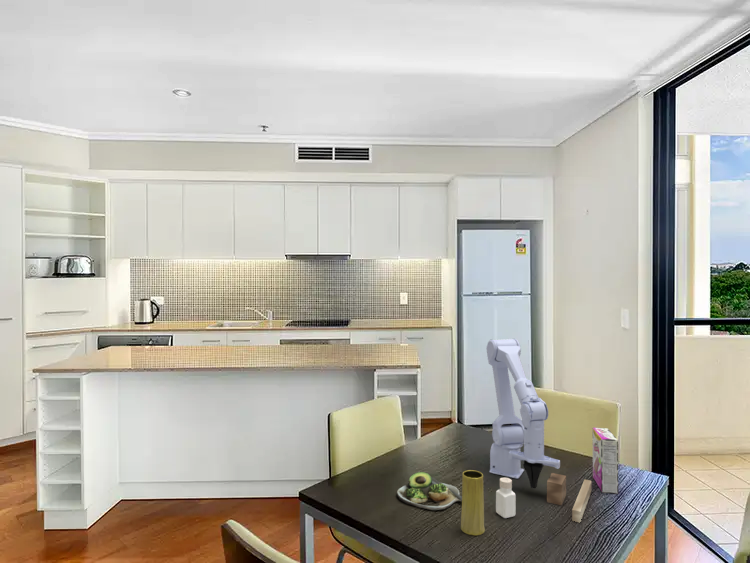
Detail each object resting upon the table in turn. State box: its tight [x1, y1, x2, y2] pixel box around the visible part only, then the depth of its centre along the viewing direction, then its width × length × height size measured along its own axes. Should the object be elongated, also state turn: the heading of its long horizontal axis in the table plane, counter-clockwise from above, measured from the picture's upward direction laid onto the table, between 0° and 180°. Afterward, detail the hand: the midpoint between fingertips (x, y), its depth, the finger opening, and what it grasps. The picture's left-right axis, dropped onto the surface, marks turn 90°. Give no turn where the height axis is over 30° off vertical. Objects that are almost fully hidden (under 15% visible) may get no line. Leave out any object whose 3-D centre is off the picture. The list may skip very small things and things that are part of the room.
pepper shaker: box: [495, 477, 517, 519], centre depth 127 cm, size 4×4×10 cm
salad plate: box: [396, 471, 462, 511], centre depth 138 cm, size 19×18×5 cm
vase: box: [460, 469, 486, 536], centre depth 120 cm, size 6×6×14 cm
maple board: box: [571, 478, 592, 524], centre depth 133 cm, size 2×22×3 cm, turn 148°
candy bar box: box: [591, 427, 619, 495], centre depth 145 cm, size 11×5×16 cm, turn 168°
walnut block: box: [546, 472, 567, 506], centre depth 136 cm, size 4×7×6 cm, turn 148°
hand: (533, 486), depth 140 cm, fingers closed
